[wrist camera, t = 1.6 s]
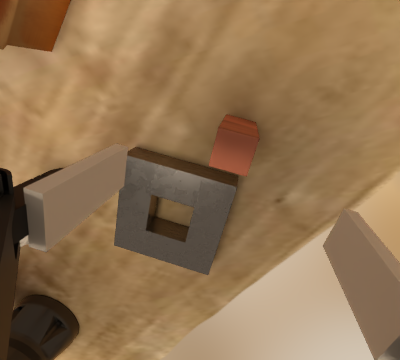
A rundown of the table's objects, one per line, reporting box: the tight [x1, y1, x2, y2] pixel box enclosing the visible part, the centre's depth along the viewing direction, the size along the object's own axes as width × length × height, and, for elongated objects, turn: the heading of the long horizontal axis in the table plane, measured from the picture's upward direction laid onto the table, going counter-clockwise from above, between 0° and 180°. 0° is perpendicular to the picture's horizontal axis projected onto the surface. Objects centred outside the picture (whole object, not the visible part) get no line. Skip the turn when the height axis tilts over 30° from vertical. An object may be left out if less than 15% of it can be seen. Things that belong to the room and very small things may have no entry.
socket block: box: [114, 147, 238, 275], centre depth 37 cm, size 16×16×4 cm
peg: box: [209, 115, 260, 177], centre depth 28 cm, size 4×4×10 cm
